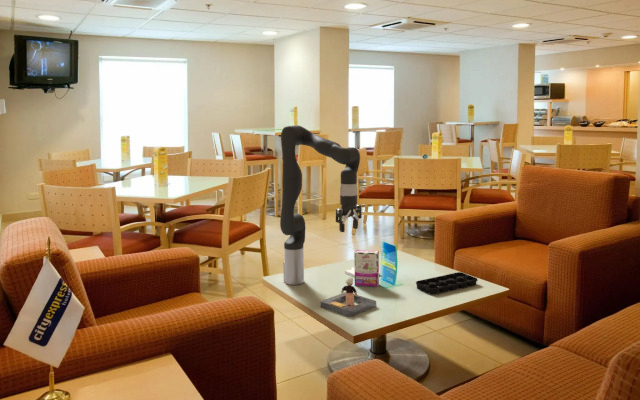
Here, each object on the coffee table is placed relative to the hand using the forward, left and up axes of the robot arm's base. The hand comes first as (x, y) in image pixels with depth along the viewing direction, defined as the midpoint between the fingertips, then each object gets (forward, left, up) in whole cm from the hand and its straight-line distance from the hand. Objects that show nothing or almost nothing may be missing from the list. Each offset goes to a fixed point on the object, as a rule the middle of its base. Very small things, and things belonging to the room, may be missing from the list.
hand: (348, 230), depth 240 cm
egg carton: (+25, +41, -31) cm, 57 cm away
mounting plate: (-16, +28, -31) cm, 45 cm away
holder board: (+9, -10, -30) cm, 33 cm away
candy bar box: (-4, +17, -30) cm, 35 cm away
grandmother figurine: (+9, -9, -30) cm, 33 cm away
